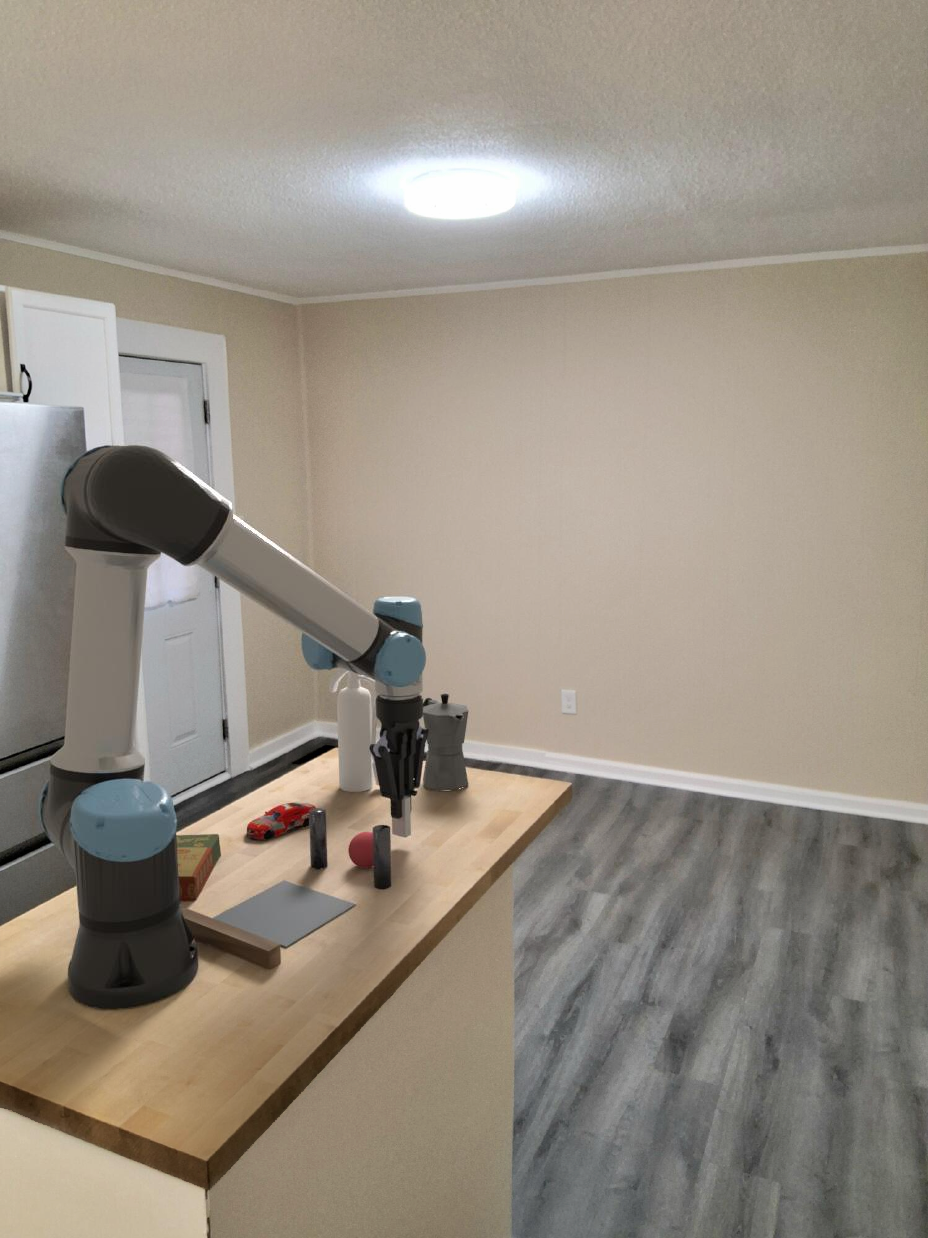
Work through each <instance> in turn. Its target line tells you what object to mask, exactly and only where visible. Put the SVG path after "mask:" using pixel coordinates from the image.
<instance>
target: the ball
mask: <svg viewBox="0 0 928 1238" xmlns="http://www.w3.org/2000/svg"><path fill="white" fill-rule="evenodd" d="M347 849H348V857H349V859H350V860H351V862H352V863H353V864H354V865H355V866H357V867H358V868H361V869H369V868H374V867H373V831H372V832H371V831H363V832H360V833H357V834H355V836H354V837H353V838H351V840H350V842H349V844H348V848H347Z"/></svg>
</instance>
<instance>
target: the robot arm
mask: <svg viewBox="0 0 928 1238" xmlns="http://www.w3.org/2000/svg"><path fill="white" fill-rule="evenodd" d="M59 499H60V505H61V507H62V510H63V512H64V515H65V516H66V521H65V522H66V523H65V524H66V525H65V543H64V550H66V552H67V553H69V555H71V557H72V558H73V559H74V561H75V563H76V568H75V569H76V571H75V581H74V582H75V584H74V598H73V611H72V612H73V614H72V615H73V616H72V626H71V627H72V628H71V629H72V630H71V643H70V656H69V657H70V658H69V670H68V674H69V675H68V685H67V698H66V699H67V701H66V702H67V703H66V714H65V715H66V717H65V729H64V743H63V745H62V747H61V748H60V749H58V750H57V751H56V752H55V753H54V754H53V755H51V757H50V762H49V763H50V764H49V774H48V775H49V776H48V777H49V778H48V779H47V780H46V782H45V783H44V784H43V787H42V790H41V793H40V795H39V799H38V800H39V801H38V814H39V821H40V823H41V828H42V829H43V830H44V833H45V835H46V836H47V838H48V839H49V841H50V842H51V843H52V844H53V845H55V847H56V848H57V850H58V851H59V852H60V853H61V854H62V856H63V857H64V858H65V859H66V861H67V862H68V863H69V865H70V866H71V868H72V869H73V871H74V875H75V884H76V885H75V886H76V896H77V898H76V899H77V908H78V921H79V923H78V930H77V933H76V938H75V942H74V946H73V949H72V954H71V958H70V961H69V963H68V966H67V967H68V968H67V982H68V984H67V985H68V992H69V994H70V996H71V998H73V999H74V1001H76V1002H78V1003H79V1004H81V1005H84V1006H87V1007H90V1008H92V1009H93V1008H94V1009H101V1010H125V1009H126V1010H127V1009H133V1008H137V1007H142V1006H146V1005H149V1004H153V1003H156V1002H159V1001H161V1000H164V999H167V998H168V997H170V996H173V995H175V994H176V993H178V992H179V991H181V990H182V989H184V988H185V987H186V986H187V985H189V983H190V982H191V981H193V979H194V978H195V976H196V975H197V973H198V970H199V951H198V946H197V943H196V941H195V939H194V938H193V936H192V933H191V931H190V929H189V927H188V924H187V922H186V920H185V918H184V915H183V913H182V911H181V909H182V908H181V901H180V895H179V875H178V857H177V839H176V835H177V828H178V827H177V826H178V818H177V814H176V811H175V807H174V800H173V798H172V796H171V794H170V793H169V791H168V790H167V789H165V788H164V787H163V786H161V785H160V784H157V783H155V782H152V781H149V780H148V781H147V780H146V781H144V778H145V767H146V766H145V765H146V759H145V757H144V756H143V754H142V753H141V752H140V751H138V749H137V748H136V747H135V737H136V726H137V715H138V714H137V712H138V699H139V685H140V672H141V670H140V669H141V659H142V649H143V648H142V644H143V635H144V633H143V632H144V620H145V619H144V618H145V608H146V607H145V605H146V595H147V594H146V593H147V581H148V580H147V579H148V569H149V567H150V566H151V565H152V564H153V563H155V562H156V561H157V560H158V559H159V558H161V555H162V554H164V555H166V556H168V557H169V558H171V559H173V560H174V561H176V562H177V563H179V564H180V565H182V566H184V567H192V566H194V565H195V566H196V565H197V566H199V567H200V568H202V569H203V570H205V571H206V572H208V573H209V574H211V575H213V576H214V577H216V578H218V579H219V580H220V581H222V582H223V583H225V584H226V585H228V586H229V587H231V588H233V589H234V590H235V591H238V592H239V593H241V594H242V595H243V596H245V597H247V598H248V599H250V600H251V601H253V602H255V603H256V604H257V605H259V606H261V607H262V608H264V609H265V610H267V611H268V612H270V613H272V614H273V615H275V616H276V617H278V618H279V619H281V620H283V621H284V622H285V623H286V624H288V625H290V626H292V627H293V628H294V629H296V630H297V631H299V632H301V639H300V641H301V643H300V645H301V652H302V655H303V658H304V661H305V662H306V664H307V665H308V666H309V667H310V668H311V669H312V670H314V671H315V670H316V671H321V670H322V671H324V670H327V671H331V670H335V669H334V668H343V669H346V670H348V671H351V672H354V673H357V674H359V675H364V676H366V677H369V678H371V679H373V680H374V681H375V691H376V693H377V694H379V695H378V696H377V697H376V717H377V719H378V720H379V722H380V724H381V726H380V731H379V740H377V742H376V744H371V745H370V748H369V749H370V752H371V753H372V755H373V757H374V761H375V766H376V771H377V777H378V782H379V785H378V786H379V791H380V795H381V797H383V798H387V799H390V817H391V828H392V829H391V830H392V831H391V832H392V833H391V834H392V835H394V836H398V837H401V838H404V839H406V838H408V837H409V836H411V834H412V828H411V827H412V822H411V821H412V820H411V819H412V818H411V817H412V816H411V815H412V814H411V813H412V809H413V808H412V796H413V797H417V795H418V791H417V790H415V789H419V788H420V786H421V780H422V772H423V771H422V770H423V766H424V765H423V764H424V758H425V750H426V749H425V748H426V744H427V737H428V734H429V729H427V728H425V727H422V726H420V720H421V719H422V718H423V703H424V696H423V695H422V694H421V693H422V692H423V689H424V687H423V671H424V670H425V667H426V663H427V655H426V654H427V653H426V650H425V649H426V648H425V647H424V644H423V628H424V624H423V612H422V605H421V602H420V601H419V600H418V599H417V598H415V597H411V596H383V597H379V598H377V599H376V600H375V601H374V603H373V608H372V612H371V611H370V610H369V609H367V608H366V607H365V606H363V605H362V604H360V603H359V602H357V601H356V600H354V599H353V598H352V597H350V596H349V595H348V594H346V593H345V592H343V591H342V590H340V589H339V588H338V587H336V586H335V585H333V583H331V582H330V581H328V580H327V579H325V578H324V577H322V576H321V575H319V573H317V572H316V571H315V570H312V569H311V568H310V567H308V566H307V565H305V564H304V563H303V562H301V561H300V560H298V559H297V558H296V557H294V556H293V555H292V554H290V553H289V552H287V551H286V550H285V549H284V548H282V547H280V546H279V545H277V544H276V543H275V542H273V541H272V540H270V539H269V538H267V537H266V536H265V535H263V534H262V533H260V532H259V531H258V530H256V529H255V528H253V527H252V526H250V524H248V523H246V522H245V521H243V520H242V519H241V518H239V517H238V516H236V515H235V514H234V513H233V512H234V511H233V505H232V502H231V501H230V500H229V499H227V498H226V497H224V496H223V495H221V493H218V492H217V491H216V490H215V489H213V487H211V486H210V485H208V484H207V483H206V482H205V481H203V479H200V478H199V477H198V476H197V475H195V474H194V473H193V472H192V471H190V470H189V469H187V468H186V467H185V466H183V465H182V464H181V463H180V462H178V461H177V460H176V459H175V458H172V457H171V456H169V455H168V454H166V453H164V452H163V451H161V450H158V449H156V448H153V447H150V446H146V445H138V444H136V445H135V444H134V445H130V444H129V445H113V444H112V445H109V444H107V445H106V444H105V445H101V446H97V447H93V448H91V449H89V450H87V451H85V452H83V453H81V454H80V455H79V456H77V457H76V458H74V460H73V461H71V462H70V463H69V464H68V466H67V467H66V469H65V470H64V473H63V475H62V476H61V480H60V485H59Z"/></svg>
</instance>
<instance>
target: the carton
mask: <svg viewBox="0 0 928 1238" xmlns="http://www.w3.org/2000/svg"><path fill="white" fill-rule="evenodd" d="M176 839H177V857H178V875H179V895H180V902H195V901H197V900H198V898H199V896H200V895H201V893H202V891H203V889H204V887H205V886H206V884H207V882H208V880H209V878H210V876H211V874H212V872H213V871H214V869H215V868H216V865H217V863H218V862H219V860H220V858H221V856H222V852H221V844H220V835H219V834H218V833H211V834H210V833H209V834H208V833H207V834H178V835H177V834H176Z"/></svg>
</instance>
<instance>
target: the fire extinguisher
mask: <svg viewBox="0 0 928 1238" xmlns="http://www.w3.org/2000/svg"><path fill="white" fill-rule="evenodd" d="M333 670H337V671H338V672H337V673H335V674H334V676H333V677H332V678H331V680H330V681H329V686H328V691H329V692H330V693H331V694H332V693H335V692H337V690H338V687H339V684H340V681H342V678H343V677H345V675H346V674H348V676H347V682H346V683H347V684H346V687H344V688H341V689H340V691H339V692H338V694H337V697H336V708H337V711H336V712H337V715H336V716H337V717H336V718H337V747H338V748H337V749H338V776H339V777H338V781H339V782H338V783H339V784H338V786H339V789H341V790H342V791H343V792H349V793H360V792H361V793H362V792H366V791H367V790H368V791H369V790H371V789H372V788H373V787H374V783H375V785H376V786H379V782H378V777H377V771H376V766H375V761H374V757H373V755H372V753H371V752H370V749H369V748H370V745H371V744H377V742H376V741H377V719H378V718H377V717H376V697H377V696H378V695H379V694H377V693H376V691H375V680H374V679H371V678H369V677H366V676H364V675H360V674H357V673H354V672H351V671H348V670H346V669H343V668H334V669H333ZM361 681H366V682H368V683H369V684H371V685H372V687H373V693H374V700H373V705H372V695H371V692H370V690H369V689H367V688H366V687H362V685H361ZM374 781H375V782H374Z"/></svg>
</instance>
